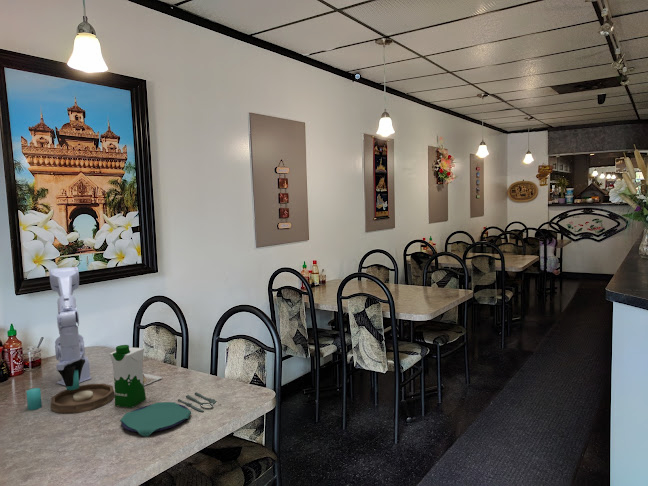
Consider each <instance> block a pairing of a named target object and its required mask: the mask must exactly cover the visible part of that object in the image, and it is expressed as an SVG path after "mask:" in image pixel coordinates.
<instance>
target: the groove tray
mask: <svg viewBox="0 0 648 486" xmlns="http://www.w3.org/2000/svg"><path fill="white" fill-rule="evenodd" d="M113 399H114V400H115V389H114V386H113V385H111V384H106V383H88V384H83V385H82V384H81V385H79V388H78V389H75V390H67V389H65V390H61V391H59V392H58V393H56V394H55V395H53V396H52V397H51V400H50V411H52V412H54V413H56V414H64V415H65V414H66V415H67V414H69V415H70V414H77V413H84V412H88V411H92V410H96V409H98V408H101V407H103V406H105V405H108V404H109V403H111V401H113Z"/></svg>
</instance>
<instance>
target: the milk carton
mask: <svg viewBox="0 0 648 486" xmlns="http://www.w3.org/2000/svg"><path fill="white" fill-rule="evenodd" d="M144 351H145V348H143V347H142V348H141V347H130V345H129V344H122V345H121V344H120V345H117V346H116V347H115V351H113V352H111V353H109V356H110V360H111V363H112V367H113V381H114V382H113V383H114V386H113V387H114V394H115V397H114V406H115V407H123V408H129V409H132V408H133V407H136V406H137V405H139V404H141V403H143V402H145V401H146V400H147V395H146V390H145V386H144V385H145V384H144V383H145V382H144V380H143V373H144V367H143V358H144V353H145V352H144Z"/></svg>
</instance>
